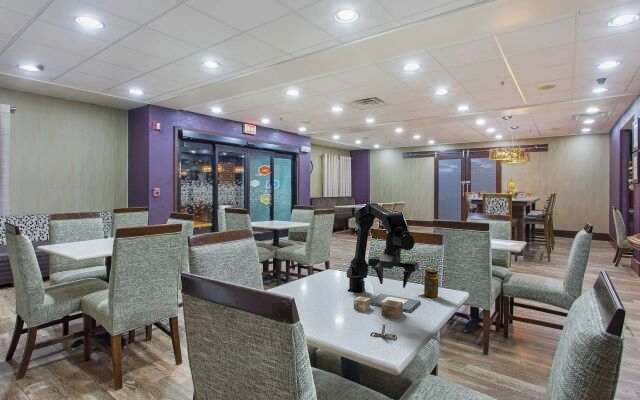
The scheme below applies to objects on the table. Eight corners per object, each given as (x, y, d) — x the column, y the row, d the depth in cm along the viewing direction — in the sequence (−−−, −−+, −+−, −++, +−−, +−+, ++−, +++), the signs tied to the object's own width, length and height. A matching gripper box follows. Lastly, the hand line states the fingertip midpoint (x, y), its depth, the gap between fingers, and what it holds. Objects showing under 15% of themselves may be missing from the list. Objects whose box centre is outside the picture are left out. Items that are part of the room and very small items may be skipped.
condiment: (442, 297, 158) (442, 271, 158) (429, 300, 154) (430, 273, 153) (429, 293, 165) (429, 268, 164) (416, 296, 160) (417, 270, 159)
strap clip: (397, 337, 116) (397, 324, 116) (395, 341, 113) (395, 328, 113) (371, 333, 119) (372, 321, 119) (369, 336, 116) (369, 324, 116)
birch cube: (353, 309, 143) (353, 299, 142) (359, 305, 147) (359, 296, 147) (364, 311, 140) (364, 301, 140) (370, 307, 144) (370, 298, 144)
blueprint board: (368, 304, 148) (368, 301, 148) (380, 295, 160) (381, 293, 160) (409, 312, 139) (409, 309, 139) (420, 302, 150) (420, 300, 150)
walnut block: (381, 316, 135) (381, 304, 135) (387, 310, 141) (388, 299, 141) (396, 319, 132) (396, 307, 132) (402, 313, 138) (402, 302, 138)
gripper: (362, 246, 134) (361, 286, 134) (410, 251, 124) (409, 295, 124) (374, 242, 143) (373, 280, 144) (419, 247, 133) (418, 287, 134)
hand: (392, 285), depth 136 cm, fingers open, 9 cm apart
